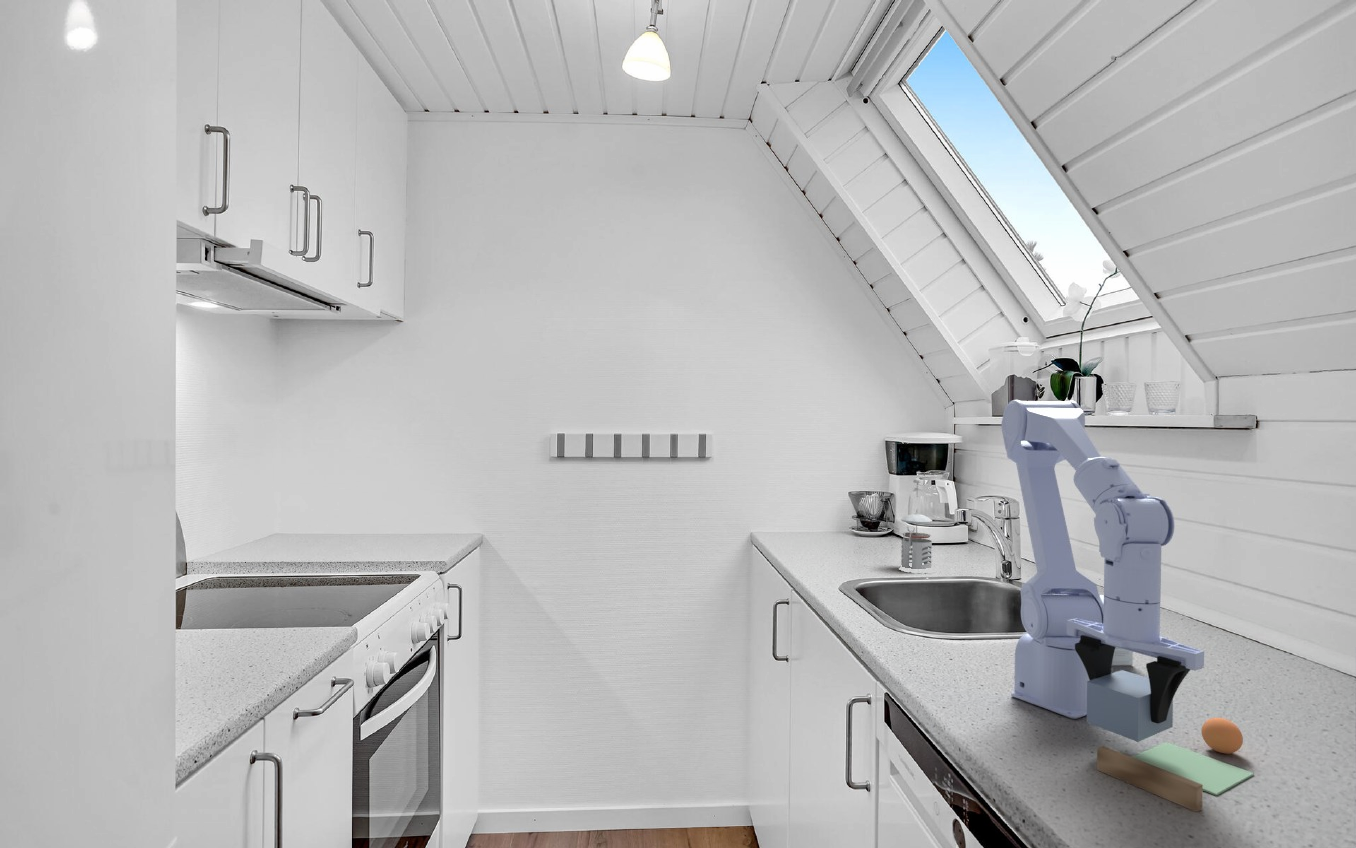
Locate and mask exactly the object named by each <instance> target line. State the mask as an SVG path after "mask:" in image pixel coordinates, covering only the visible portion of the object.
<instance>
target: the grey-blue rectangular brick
mask: <svg viewBox="0 0 1356 848" xmlns="http://www.w3.org/2000/svg"><path fill="white" fill-rule="evenodd" d="M1150 707H1151V690H1150V682H1149V677H1147V676H1144V675H1143V676H1142V675H1141V674H1137V673H1135V672H1131V671H1126V670H1123V669H1120V670H1118V671H1114V672H1111V674H1108V675H1105V676H1102V677H1099V678H1096V679H1093V680H1090V681H1087V715H1086V723H1087V724H1089V725H1091V726H1094V727H1098V728H1100V729H1103V730H1105V731H1107V732H1111V733H1113V734H1116V735H1119V736H1120V737H1124V738H1127V739H1129V740H1131V741H1134V742H1136V743H1139V742H1141V741H1143V740H1145V739H1148V738H1150V737H1153V736H1155V735H1157V734H1159V733H1162V732H1164V731H1166V730H1169V729H1171V728H1173V721H1174V720H1173V717H1174V710H1173V709H1174V708H1173V707H1174V699H1173V700H1172V702H1171V705H1170V708H1169V711H1168V715H1167V720H1166V721H1164V722H1161V723H1159V724H1157V723H1154V722H1151V714H1150Z"/></svg>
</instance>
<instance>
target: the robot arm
mask: <svg viewBox="0 0 1356 848" xmlns="http://www.w3.org/2000/svg"><path fill="white" fill-rule="evenodd" d="M1085 415H1086V413H1085V412H1084V410H1082V408H1081V405H1079V404H1078V402H1076V401H1075V400H1065V401H1058V400H1057V401H1047V400H1045V401H1044V400H1043V401H1042V400H1041V401H1040V400H1038V401H1037V400H1036V401H1035V400H1028V401H1027V400H1019V399H1013V400H1010V401H1009V402H1008V404H1007V405H1006V406H1005V408H1004V410H1003V414H1002V418H1001V423H1000V424H1001V432H1002V438H1003V443H1004V448H1005V451H1006V456H1007V458H1008V459H1009V460H1011V461H1012V462H1014V463H1015V464H1016V465H1015V466H1016V469H1017V475H1018V481H1019V485H1020V489H1021V496H1022V501H1023V506H1024V510H1025V517H1026V522H1027V527H1028V532H1029V537H1030V542H1031V543H1030V544H1031V548H1032V553H1033V557H1034V558H1033V559H1034V563H1035V568H1036V569H1035V570H1036V573H1035V574H1034V575H1033V576H1031V577H1030V578H1029V579H1028V580H1027V581H1026V582H1024V584H1023V585H1022V586H1021V588H1020V599H1021V601H1020V602H1021V604H1020V605H1021V606H1020V618H1021V619H1020V620H1021V623H1022V626H1023V628H1024V629H1025V632H1026V633H1024V634H1022V636H1020V638H1018V641H1017V643H1016V646H1015V650H1014V684H1013V685H1014V690H1013V691H1012V692H1010V696H1011V697H1013V698H1016V699H1019V700H1022V701H1024V702H1027V703H1029V704H1032V705H1035V706H1038V707H1039V708H1042V709H1046V710H1048V711H1051V712H1054V713H1057V714H1059V715H1062V716H1065V717H1067V718H1070V719H1074V720H1076V719H1079V718H1082V717H1084V716H1087V681H1090V680H1093V679H1096V678H1099V677H1102V676H1105V675H1108V674H1111V673H1112V666H1113V665H1112V660H1113V655H1114V651H1115V647H1118V648H1122V649H1125V650H1129V651H1132V652H1133V653H1136V654H1140V655H1144V656H1147V657H1152V658H1154V659H1156V660H1154V661H1150V662H1146V665H1145V668H1146V671H1147V676H1148V678H1149V682H1150V690H1151V707H1150V714H1151V722H1154V723H1157V724H1159V723H1161V722H1164V721H1166V720H1167V715H1168V711H1169V708H1170V705H1171V702H1172V700H1173V701H1174V697H1175V696H1176V693H1177V690H1178V689H1179V687H1180V686H1181V684H1182V683H1183V681H1184V679H1185V678H1186V677H1187V675H1188V674H1189V672H1190V671H1195V672H1196V671H1198V670H1202V669H1204V668H1205V651H1204V650H1202V649H1197V648H1194V647H1191V646H1189V645H1185V644H1182V643H1179V642H1177V641H1174V640H1172V639H1169V638H1166V637H1164V636H1161V592H1162V590H1161V585H1162V584H1161V583H1162V547H1164V546H1166V545H1168V544H1169V543H1170V542H1171V540H1172V539H1173V537H1174V532H1175V519H1174V515H1173V512H1172V510H1171V508H1170V506H1169V505H1168V503H1167V502H1166V500H1165V499H1164V498H1161V497H1159V496H1152V495H1150V493H1143V491H1141V489H1140V488H1139V486H1137V484H1136V483H1135V482H1134V481H1133V479H1132V478H1131V477H1130V476H1129V475H1128V473H1127V472H1126V470H1125V469H1123V467H1122V466H1121V465H1120V463H1119V462H1118V460H1117V459H1116V458H1112V457H1107V456H1101V454H1100V452H1099V451H1098V449H1097V448H1096V446H1095V444H1094V442H1093V441H1092V440H1091V438H1090V436H1089V435H1088V433H1087V431H1086V429H1085V426H1086V416H1085ZM1063 461H1067V463H1068V464H1069V465H1070V466H1071V467H1072V468H1073V469H1074V471H1075V473H1074V475H1073V484H1074V486H1075V487H1076V489H1077V490H1078V491H1079V492H1080V495H1081V496H1082V497H1083V498H1084V500H1085V501H1086V503H1087V504H1088V505H1089V507H1090V509H1091V510H1092V511H1093V512H1094V514H1095V517H1093V525H1094V531H1095V532H1096V533H1095V534H1096V536H1097V539H1098V542H1099V548H1098V549H1099V550H1098V551H1099V552H1100V557H1102V558H1104V563H1103V564H1104V565H1103V566H1104V567H1103V595H1104V604H1103V602H1102V600H1101V598H1100V595H1101V594H1100V593H1099V590H1098V585H1097V584H1096V583H1095V582H1094V581H1092V580H1091V579H1089V578H1088V577H1087V576H1085V575H1083V574H1082V573H1080V571H1078V570H1077V568H1076V563H1075V559H1074V554H1073V550H1072V545H1071V541H1070V536H1069V531H1068V530H1069V529H1068V526H1067V521H1066V518H1065V517H1066V516H1065V513H1064V507H1063V503H1062V498H1061V494H1060V489H1059V485H1058V480H1057V475H1056V469H1055V468H1056V465H1057V464H1059V463H1061V462H1063Z"/></svg>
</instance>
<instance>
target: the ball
mask: <svg viewBox="0 0 1356 848" xmlns="http://www.w3.org/2000/svg"><path fill="white" fill-rule="evenodd" d="M1200 731H1201V737H1202V739H1203V741H1204V743H1205V744H1206V745H1207V746H1208V747H1209V748H1211V750H1213V751H1216V752H1218V753H1221V754H1234V753H1236V752H1237V751H1240V749H1241V748H1242V745H1243V743H1244V739H1243V738H1244V737H1243V734H1242V732H1241V730H1240V729H1239V727H1238V726H1237V725H1236V724H1235V723H1234V722H1232V721H1231V720H1229V719H1226V718H1224V717H1223V718H1222V717H1212V718H1209V719H1207V720H1205V721H1204V723H1203V724H1202V725H1201V730H1200Z"/></svg>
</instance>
